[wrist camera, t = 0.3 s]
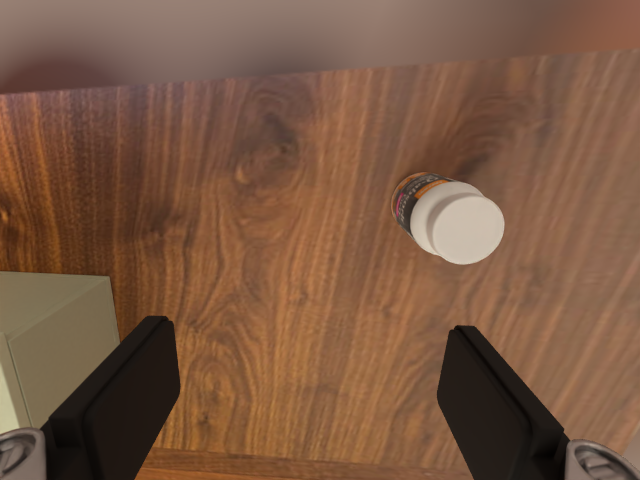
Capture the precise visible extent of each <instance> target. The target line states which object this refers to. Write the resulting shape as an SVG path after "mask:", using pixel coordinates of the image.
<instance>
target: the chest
mask: <svg viewBox="0 0 640 480" xmlns="http://www.w3.org/2000/svg"><path fill="white" fill-rule="evenodd" d="M0 332H4V334H5V337H6V341H7V344H8V348H9V351H10V355H11V358H12V362H13V365H14V369H15V372H16V376H17V379H18V383H19V386H20V390H21V393H22V397H23V400H24V404H25V407H26V411H27V414H28V418H29V421H30V425H31V427H32V428H38V429H40V428H41V427H42V426H43V425H44V424H45V423H46V422H47V421H48V420H49V419H48V417H49V416H50V415H51V414H52V413H53V412H54V411H55V410H56V409H57V408H58V407H59V406H60V405H61V404H62V403H63V402H64V401H65V400H66V399H67V398H68V397H69V396H70V395H71V394H72V393H73V391H74V390H75V389H76V388H77V387H78V386H79V385H80V384H81V383H82V382H83V381H84V380H85V379H86V378H87V377H88V376H89V375H90V374H91V373H92V372H93V371H94V370H95V369H96V368H97V367H98V366H99V365H100V364H101V363H102V362H103V361H104V360H105V359H106V357H107V356H108V355H109V354H110V353H111V352H112V351H113V350H114V349H115V348H116V347H117V346H118V345H119V344H120V339H119V332H118V326H117V320H116V314H115V307H114V301H113V295H112V288H111V282H110V277H109V276H92V275H71V274H50V273H29V272H8V271H0Z"/></svg>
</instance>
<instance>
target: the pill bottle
mask: <svg viewBox="0 0 640 480" xmlns="http://www.w3.org/2000/svg"><path fill="white" fill-rule="evenodd" d="M391 209H392V214H393V216H394V218H395V220H396V221H397V223H398V224H399V225H400V226H401V227H402V228H403V229H404V230H405V231H406V232H407V233H408V234H409V235H410V237H411V238H412V239H413V240H414V241H415V242H416V243H417V244H418V245H419V246H420V247H421V248H423V249H424V250H425V251H427V252H430V253H432V254H435V255H440V256H441V257H442V258H444V259H445V260H447V261H449V262H452V263H456V264H471V263H475V262H478V261H480V260H482V259H484V258H485V257H487V256H488V255H489V254H491V253H492V252H493V251H494V250H495V248H496V247H497V246H498V244H499V243H500V241H501V238H502V236H503V232H504V218H503V215H502V212H501V211H500V209H499V207H498V206H497V205H496V204H495V203H494V202H493V201H491V200H489V199H488V198H485V197H484V196H483V195H482V193H481V192H480V191H479V190H477V189H476V188H475V187H473V186H471V185H470V184H467V183H464V182H460V181H456V180H453V179H449V178H446V177H443V176H440V175H437V174H433V173H427V172H422V173H417V174H413V175H411V176H409V177H407V178H405V179H404V180H403V181H402V182H401V183H400V184H399V185H398V186H397V188H396V189H395V191H394V193H393V196H392V200H391Z"/></svg>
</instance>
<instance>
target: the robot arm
mask: <svg viewBox="0 0 640 480" xmlns="http://www.w3.org/2000/svg"><path fill="white" fill-rule="evenodd" d="M179 394H180V377H179V368H178V359H177V350H176V341H175V332H174V324H173V322H172V321H169V320H168V318H167V317H166V316H147V317H145V318H144V319H143V320H142V321H141V322H140V323H139V325H138V326H137V327H136V328H135V329H134V330H133V331H132V332H131V333H130V334H129V335H128V336H127V337H126V338H125V339H124V340H123V341H122V342H121V343H120V344H119V345H118V346H117V347H116V348H115V349H114V350H113V351H112V352H111V353H110V354H109V355H108V356H107V357H106V359H105V360H104V361H103V362H102V363H101V364H100V365H99V366H98V367H97V368H96V369H95V370H94V371H93V372H92V373H91V374H90V375H89V376H88V377H87V378H86V379H85V380H84V381H83V382H82V383H81V384H80V385H79V386H78V387H77V388H76V389H75V390H74V391H73V393H72V394H71V395H70V396H69V397H68V398H67V399H66V400H65V401H64V402H63V403H62V404H61V405H60V406H59V407H58V408H57V409H56V410H55V411H54V412H53V413H52V414H51V415H50V416H49V417H48V419H49V420H48V421H47V422H46V423H45V424H44V425H43V426H42V427H41V428H40V429H38V428H32V427H25V428H18V429H14V430H11V431H8V432H5V433H2V434H0V480H134V479H135V477H136V475H137V473H138V471H139V470H140V468H141V466H142V464H143V462H144V460H145V458H146V457H147V455H148V453H149V451H150V449H151V447H152V445H153V444H154V442H155V440H156V438H157V436H158V434H159V432H160V431H161V429H162V427H163V425H164V423H165V421H166V419H167V417H168V416H169V414H170V412H171V410H172V408H173V406H174V404H175V403H176V401H177V399H178V397H179ZM437 400H438V404H439V406H440V408H441V410H442V412H443V415H444V417H445V419H446V421H447V423H448V425H449V427H450V429H451V432H452V434H453V436H454V438H455V440H456V442H457V444H458V446H459V448H460V451H461V453H462V455H463V457H464V459H465V461H466V463H467V465H468V468H469V470H470V472H471V474H472V476H473V478H474V480H640V471H639V470H637V468H635V467H634V466H633V465H632V464H631V463H630V462H629V461H628V460H626V459H625V458H624V457H622V456H621V455H620V454H618V453H617V452H615V451H613V450H611V449H609V448H608V447H606V446H604V445H601V444H599V443H596V442H594V441H590V440H585V439H574V440H572V441H570V440H569V438H568V437H567V436H566V435H565V434H564V428H563V427H562V426H561V425H560V423H559V422H558V421H557V420H556V419H555V418H554V416H553V415H552V414H551V413H550V412H549V411H548V410H547V408H546V407H545V406H544V405H543V404H542V403H541V402H540V400H539V399H538V398H537V397H536V396H535V395H534V393H533V392H532V391H531V390H530V389H529V388H528V387H527V385H526V384H525V383H524V382H523V381H522V380H521V379H520V377H519V376H518V375H517V374H516V373H515V372H514V370H513V369H512V368H511V367H510V366H509V365H508V364H507V362H506V361H505V360H504V359H503V358H502V357H501V356H500V354H499V353H498V352H497V351H496V350H495V349H494V347H493V346H492V345H491V344H490V343H489V342H488V341H487V339H486V338H485V337H484V336H483V335H482V334H481V333H480V331H479V330H478V329H477V328H476V327H475V326H461V325H457V326H455V328H454V330H450V331H449V335H448V340H447V345H446V350H445V355H444V360H443V365H442V370H441V375H440V380H439V385H438V390H437Z"/></svg>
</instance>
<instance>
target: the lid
mask: <svg viewBox="0 0 640 480" xmlns="http://www.w3.org/2000/svg"><path fill="white" fill-rule="evenodd" d="M25 427H31V425H30V421H29V418H28V414H27V411H26V407H25V404H24V400H23V397H22V393H21V390H20V386H19V383H18V379H17V376H16V372H15V369H14V365H13V362H12V358H11V355H10V351H9V348H8V344H7V341H6V337H5V334H4V332H0V434H2V433H5V432H8V431H11V430H14V429H18V428H25Z"/></svg>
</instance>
